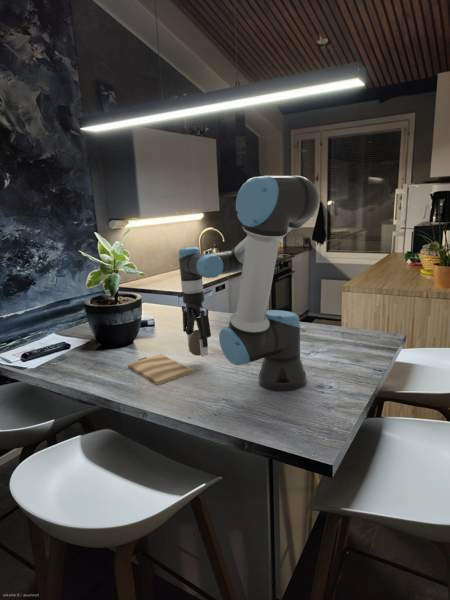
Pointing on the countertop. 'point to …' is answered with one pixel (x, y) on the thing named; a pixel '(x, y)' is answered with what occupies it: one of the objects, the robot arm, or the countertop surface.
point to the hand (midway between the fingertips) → (198, 353)
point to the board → (159, 369)
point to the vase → (194, 343)
